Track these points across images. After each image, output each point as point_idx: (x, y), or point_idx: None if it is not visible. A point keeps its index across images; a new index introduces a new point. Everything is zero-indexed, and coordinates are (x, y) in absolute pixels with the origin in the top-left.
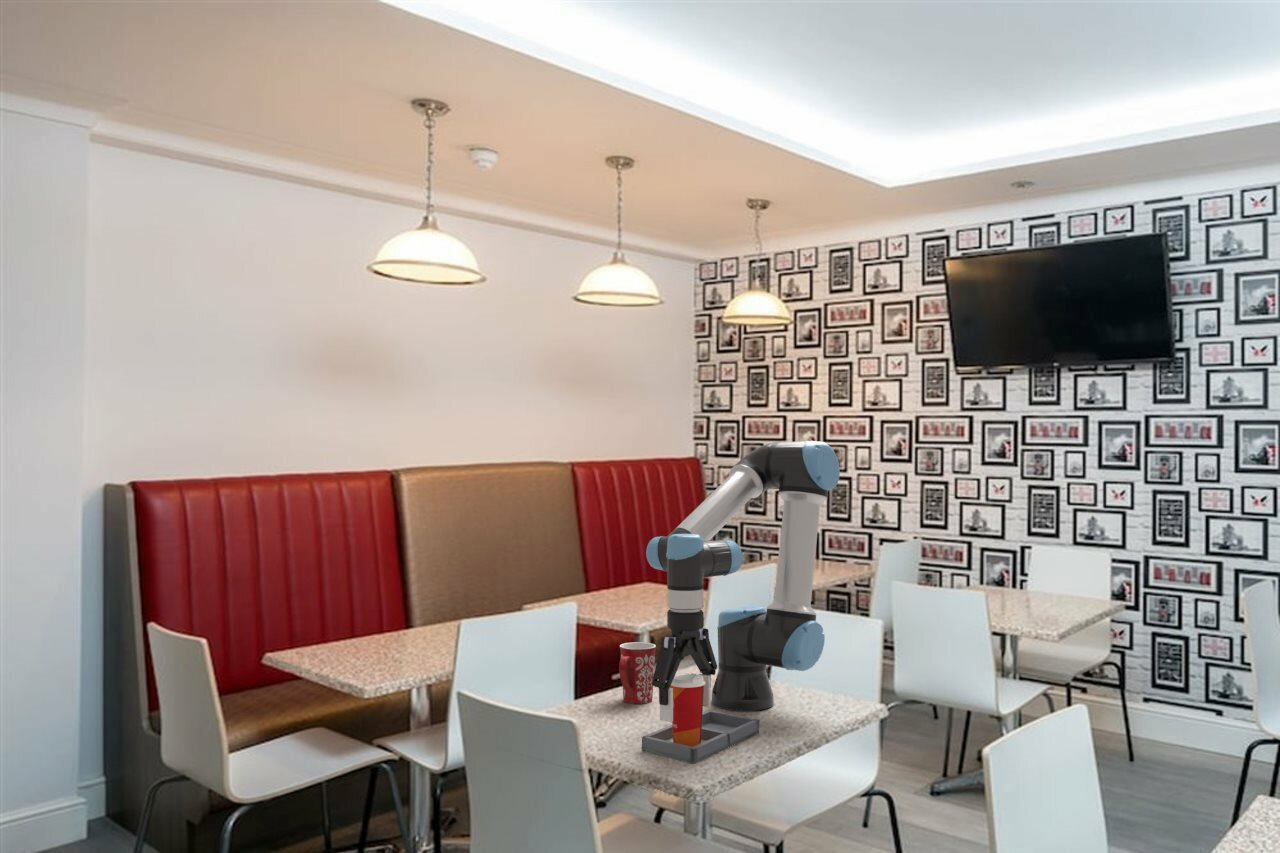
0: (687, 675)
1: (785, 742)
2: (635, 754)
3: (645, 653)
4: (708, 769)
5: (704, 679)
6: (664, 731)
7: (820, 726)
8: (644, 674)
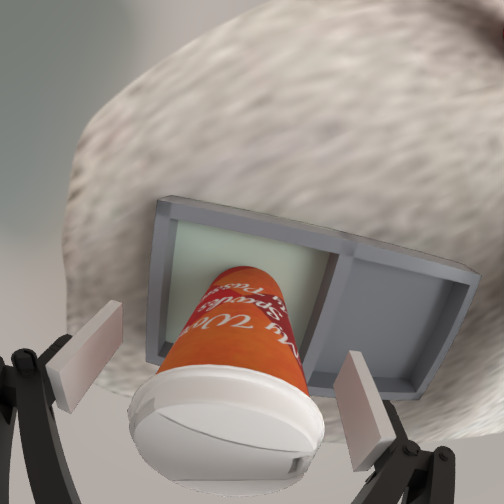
0: (248, 460)
1: None
2: (140, 194)
3: None
4: (146, 371)
5: (360, 446)
6: (254, 234)
7: (448, 427)
8: None
